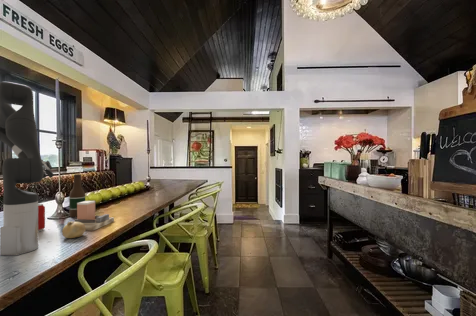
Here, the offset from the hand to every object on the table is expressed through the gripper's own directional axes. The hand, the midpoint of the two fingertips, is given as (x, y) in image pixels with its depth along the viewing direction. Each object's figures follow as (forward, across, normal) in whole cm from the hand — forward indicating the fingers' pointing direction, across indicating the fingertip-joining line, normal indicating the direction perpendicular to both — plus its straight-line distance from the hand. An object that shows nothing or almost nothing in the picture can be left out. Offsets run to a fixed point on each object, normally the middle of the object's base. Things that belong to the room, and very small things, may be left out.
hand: (48, 176), depth 119 cm
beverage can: (+20, -11, +14) cm, 27 cm away
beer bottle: (+19, +17, +16) cm, 30 cm away
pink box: (+30, 0, +1) cm, 30 cm away
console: (+33, -1, +1) cm, 33 cm away
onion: (+37, -18, -3) cm, 41 cm away
